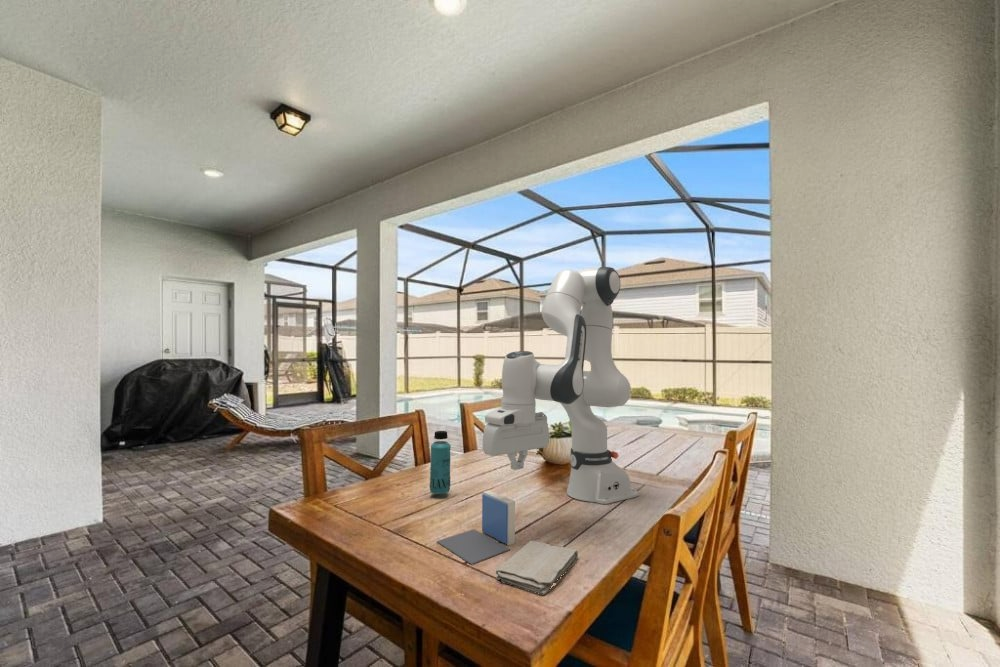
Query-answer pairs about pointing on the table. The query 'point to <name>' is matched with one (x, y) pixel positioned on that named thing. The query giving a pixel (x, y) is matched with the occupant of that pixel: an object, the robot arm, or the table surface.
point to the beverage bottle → (440, 465)
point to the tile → (498, 517)
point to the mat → (473, 546)
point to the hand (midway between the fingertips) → (517, 468)
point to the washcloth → (536, 566)
